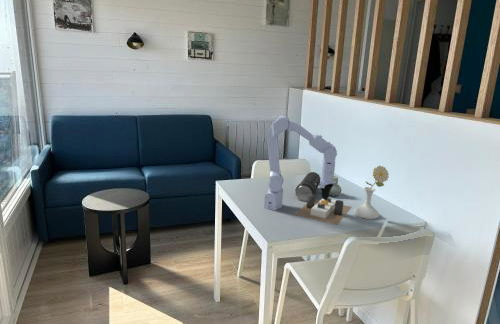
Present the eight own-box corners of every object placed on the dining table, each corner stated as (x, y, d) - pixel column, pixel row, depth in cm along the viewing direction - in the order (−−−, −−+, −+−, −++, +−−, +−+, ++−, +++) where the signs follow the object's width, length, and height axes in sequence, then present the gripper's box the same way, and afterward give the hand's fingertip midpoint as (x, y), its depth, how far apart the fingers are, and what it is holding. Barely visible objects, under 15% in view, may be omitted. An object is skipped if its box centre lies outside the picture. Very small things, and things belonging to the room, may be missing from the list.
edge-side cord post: (340, 215, 166) (342, 203, 164) (333, 214, 167) (334, 201, 166) (342, 213, 169) (344, 201, 167) (335, 211, 170) (336, 199, 169)
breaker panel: (336, 227, 156) (338, 215, 154) (293, 216, 165) (294, 205, 163) (351, 208, 178) (352, 198, 176) (312, 200, 187) (313, 190, 186)
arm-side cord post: (312, 209, 172) (313, 197, 170) (305, 207, 174) (306, 195, 172) (315, 207, 175) (316, 195, 173) (308, 205, 177) (309, 193, 175)
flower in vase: (355, 220, 164) (362, 167, 158) (351, 211, 175) (358, 160, 169) (385, 223, 162) (393, 169, 156) (379, 213, 173) (387, 163, 167)
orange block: (327, 205, 169) (327, 202, 169) (321, 203, 170) (321, 200, 170) (328, 204, 170) (328, 201, 170) (322, 202, 172) (322, 199, 171)
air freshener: (319, 191, 201) (320, 174, 199) (332, 190, 204) (334, 173, 201) (329, 198, 191) (331, 180, 189) (342, 197, 194) (344, 179, 191)
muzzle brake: (304, 187, 210) (321, 187, 207) (293, 202, 184) (313, 202, 181) (302, 171, 209) (320, 171, 205) (291, 184, 183) (312, 184, 179)
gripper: (331, 176, 158) (328, 205, 161) (340, 169, 170) (337, 196, 174) (316, 173, 161) (313, 201, 165) (326, 166, 174) (323, 193, 177)
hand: (325, 198), depth 169 cm, fingers closed
